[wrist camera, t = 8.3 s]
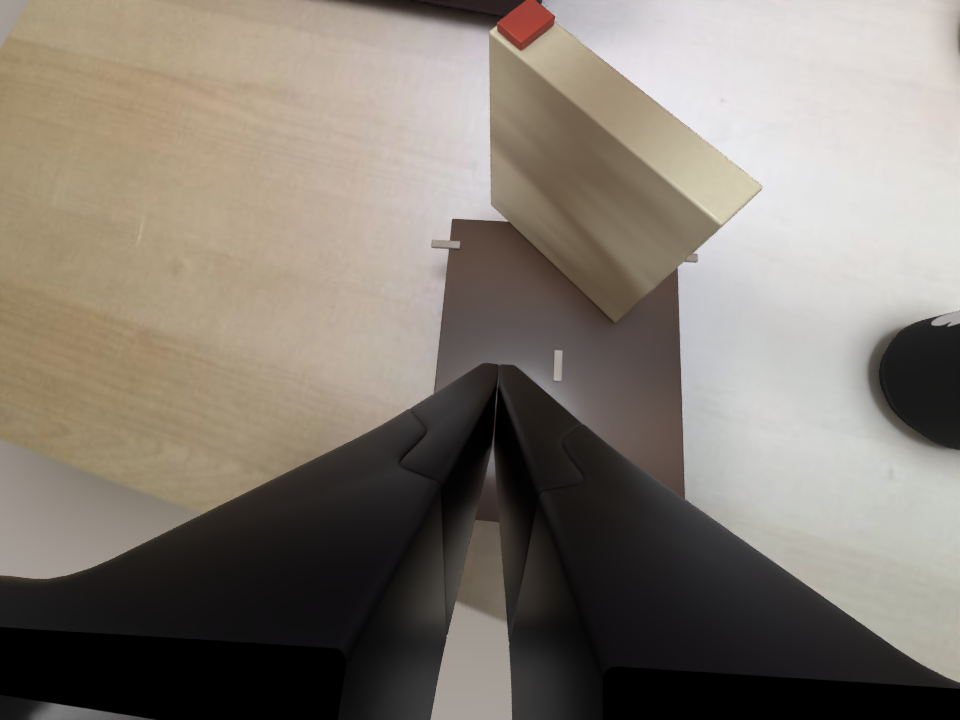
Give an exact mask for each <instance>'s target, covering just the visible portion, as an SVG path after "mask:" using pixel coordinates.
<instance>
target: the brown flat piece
mask: <svg viewBox="0 0 960 720" xmlns="http://www.w3.org/2000/svg"><path fill="white" fill-rule="evenodd" d="M431 247H432V248H443V249H449V255H448V264H447V274H446V283H445V293H444V302H443V312H442V322H441V331H440V341H439V350H438V360H437V369H436V379H435V388H434V393H436V392H437V391H439V390H441V389H442V388H444V387H445V386H447V385H449V384H450V383H452V382H453V381H455V380H457V379H458V378H460V377H461V376H463V375H465V374H466V373H468V372H469V371H471V370H472V369H474V368H476V367H477V366H479V365H480V364H482V363H494V364H498V365H499V366H500V365H501V364H507V365H515V366H517V367H518V368H519V369H520V370H521V371H523V372H524V373H525V374H526V375H527V376H528V377H530V378H531V379H532V380H533V381H534V382H535V383H536V384H538V385H539V386H540V387H541V388H542V389H543V390H545V391H546V392H547V393H548V394H549V395H550V396H551V397H553V398H554V399H555V400H556V401H557V402H558V403H560V404H561V405H562V406H563V407H564V408H565V409H566V410H568V411H569V412H570V413H571V414H572V415H573V416H575V417H576V418H577V419H578V420H579V421H580V422H581V423H582V424H584V425H586V426H587V427H588V428H589V429H590V430H592V431H593V432H594V433H595V434H596V435H598V436H599V437H600V438H601V439H603V440H604V441H605V442H606V443H607V444H609V445H610V446H611V447H612V448H614V449H615V450H616V451H618V452H619V453H621V454H622V455H623V456H625V457H626V458H627V459H629V460H630V461H631V462H633V463H634V464H636V465H637V466H638V467H640V468H641V469H643V470H644V471H645V472H647V473H648V474H650V475H651V476H653V477H654V478H655V479H657V480H658V481H660V482H661V483H662V484H664V485H665V486H667V487H668V488H670V489H671V490H672V491H674V492H675V493H677V494H678V495H679V496H681V497H682V498H684V499H685V491H684V459H683V427H682V395H681V363H680V331H679V300H678V268H676V269H675V270H674V271H673V272H672V273H671V274H669V275H668V276H667V277H666V278H665V279H664V280H663V281H662V282H661V283H660V284H658V285H657V286H656V287H655V288H654V289H653V290H652V291H651V292H650V293H649V294H647V295H646V296H645V297H644V298H643V299H642V300H641V301H640V302H639V303H638V304H636V305H635V306H634V307H633V308H632V309H631V310H630V311H629V312H628V313H626V314H625V315H624V316H623V317H622V318H621V319H620V320H619V321H618V322H616V323H615V322H614V321H613V320H611V319H610V318H609V317H608V316H607V315H606V314H605V313H604V312H603V311H602V310H601V309H600V308H599V307H598V306H597V305H596V304H595V303H594V302H593V301H592V300H590V299H589V298H588V297H587V296H586V295H585V294H584V293H583V292H582V291H581V290H580V289H579V288H578V287H577V286H576V285H575V284H574V283H573V282H572V281H571V280H570V279H568V278H567V277H566V276H565V275H564V274H563V273H562V272H561V271H560V270H559V269H558V268H557V267H556V266H555V265H554V264H553V263H552V262H551V261H550V260H549V259H548V258H546V257H545V256H544V255H543V254H542V253H541V252H540V251H539V250H538V249H537V248H536V247H535V246H534V245H533V244H532V243H531V242H530V241H529V240H528V239H527V238H525V237H524V236H523V235H522V234H521V233H520V232H519V231H518V230H517V229H516V228H515V227H514V226H513V225H512V224H511V223H510V222H504V221H484V220H464V219H452V226H451V236H450V241H444V240H432V245H431ZM697 261H698V254H691V255H690V256H689V257H688V258H687V259H686V260H685V261H684V262H697ZM498 375H499V373H498ZM497 388H498V386H497ZM496 401H497V398H496ZM495 414H496V411H495ZM494 427H495V424H494ZM475 520H483V521H494V522H499V511H498V498H497V486H496V473H495V460H494V437H493V445H492V450H491V454H490V458H489V463H488V467H487V471H486V475H485V479H484V483H483V488H482V492H481V496H480V500H479V504H478V509H477V513H476V517H475Z"/></svg>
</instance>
